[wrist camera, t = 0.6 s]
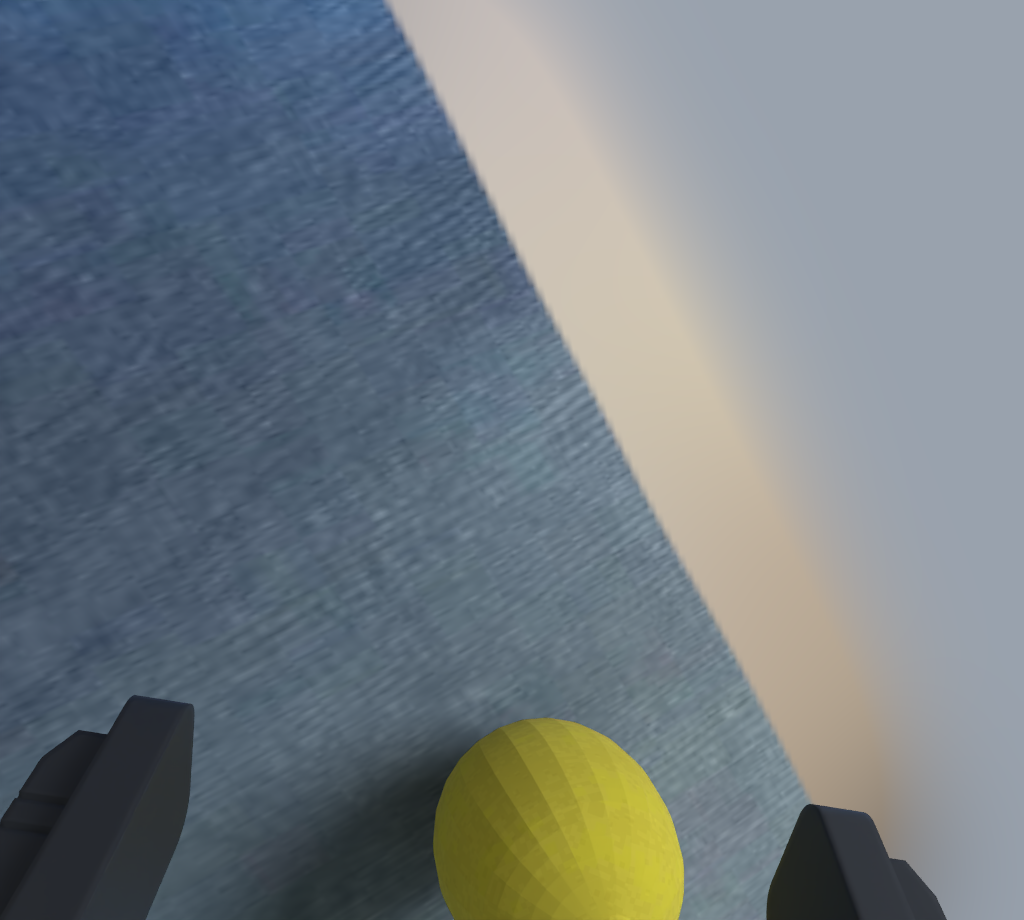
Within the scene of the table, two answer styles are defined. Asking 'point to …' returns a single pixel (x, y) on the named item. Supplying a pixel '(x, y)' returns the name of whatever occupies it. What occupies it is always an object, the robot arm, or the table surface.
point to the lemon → (555, 830)
